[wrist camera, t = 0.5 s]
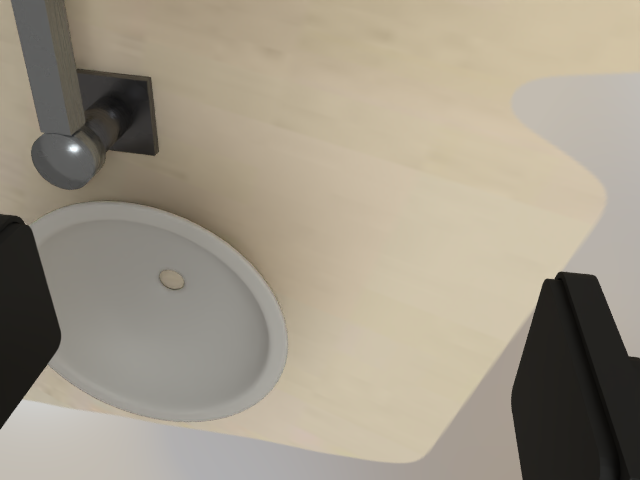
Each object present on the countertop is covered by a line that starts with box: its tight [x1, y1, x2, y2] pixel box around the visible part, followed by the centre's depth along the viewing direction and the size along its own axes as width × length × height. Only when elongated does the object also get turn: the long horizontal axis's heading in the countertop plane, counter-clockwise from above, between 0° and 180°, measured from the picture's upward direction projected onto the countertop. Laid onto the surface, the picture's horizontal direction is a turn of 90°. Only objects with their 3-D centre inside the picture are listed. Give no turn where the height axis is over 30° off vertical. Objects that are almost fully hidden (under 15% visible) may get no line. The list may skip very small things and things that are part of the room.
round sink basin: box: [29, 201, 288, 422], centre depth 52 cm, size 24×24×7 cm
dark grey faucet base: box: [76, 69, 159, 156], centre depth 43 cm, size 6×6×6 cm
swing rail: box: [11, 0, 106, 190], centre depth 36 cm, size 18×4×3 cm, turn 177°
